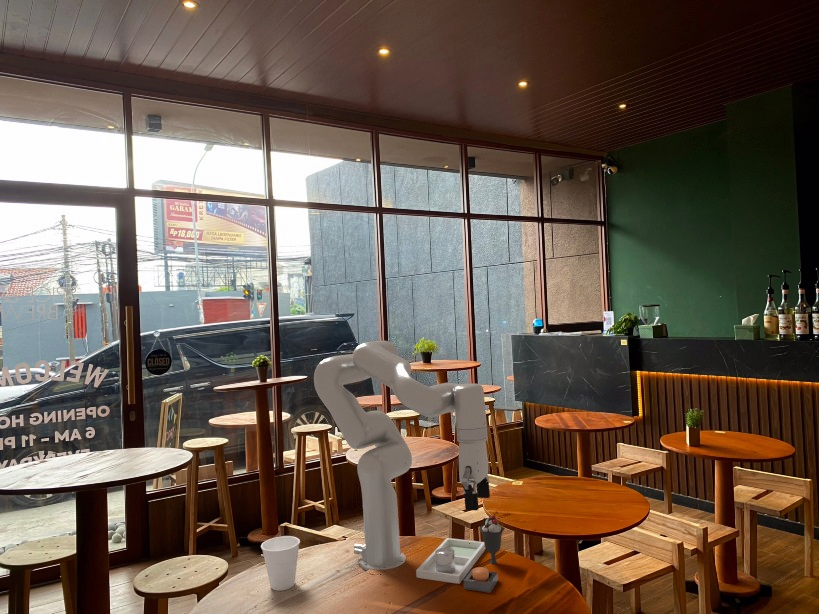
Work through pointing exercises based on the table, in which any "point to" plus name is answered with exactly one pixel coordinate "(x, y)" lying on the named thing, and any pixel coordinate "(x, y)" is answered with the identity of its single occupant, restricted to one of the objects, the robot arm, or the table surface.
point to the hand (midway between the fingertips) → (478, 503)
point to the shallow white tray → (463, 561)
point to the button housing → (481, 582)
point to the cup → (281, 561)
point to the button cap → (480, 574)
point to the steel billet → (445, 560)
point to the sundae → (492, 536)
